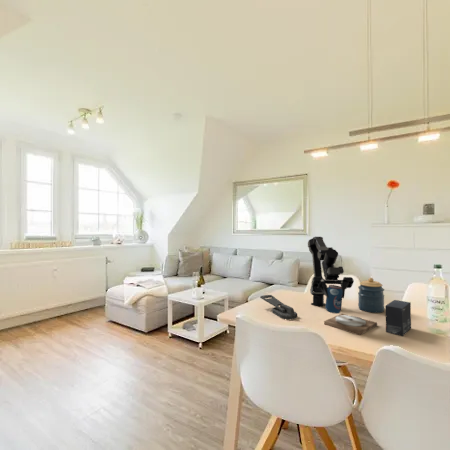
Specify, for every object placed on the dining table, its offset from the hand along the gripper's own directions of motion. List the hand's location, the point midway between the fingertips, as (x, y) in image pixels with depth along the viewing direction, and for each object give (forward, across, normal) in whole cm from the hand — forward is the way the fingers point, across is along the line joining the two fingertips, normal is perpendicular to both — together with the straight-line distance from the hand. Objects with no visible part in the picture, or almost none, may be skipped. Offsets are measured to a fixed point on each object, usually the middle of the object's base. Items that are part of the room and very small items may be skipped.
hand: (335, 297), depth 130 cm
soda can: (+4, -1, +6) cm, 7 cm away
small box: (+12, +26, +8) cm, 30 cm away
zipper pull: (-3, -25, +23) cm, 34 cm away
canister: (-10, +27, +29) cm, 41 cm away
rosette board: (+8, +7, +11) cm, 15 cm away
